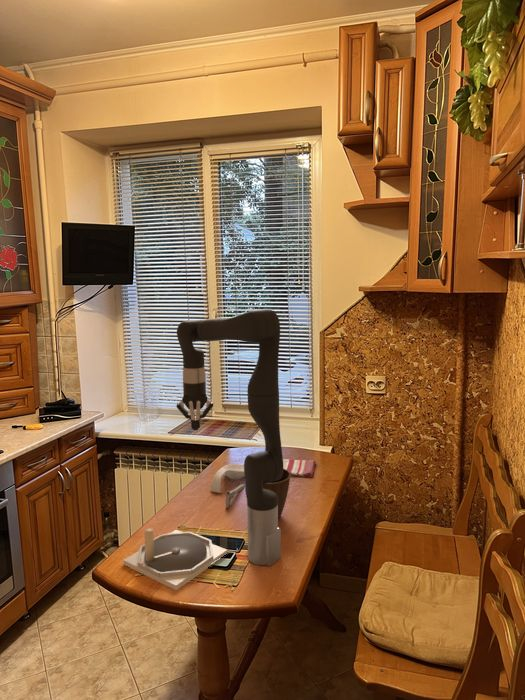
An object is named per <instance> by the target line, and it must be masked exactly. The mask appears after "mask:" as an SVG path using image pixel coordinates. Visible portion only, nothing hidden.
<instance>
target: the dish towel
mask: <svg viewBox="0 0 525 700" xmlns="http://www.w3.org/2000/svg"><path fill="white" fill-rule="evenodd" d="M314 465H315V466H316V461H315V459H307V460H306V459H304V460H303V459H302V460H299V459H287V458H286V459H285V458H283V469H286V470H287V471H289V472H290V477H296V476H302V477H301V478H311V477H312V478H313V474H314V471H315V466H314Z"/></svg>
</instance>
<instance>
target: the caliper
mask: <svg viewBox="0 0 525 700" xmlns="http://www.w3.org/2000/svg"><path fill="white" fill-rule="evenodd" d="M243 489H245V484H243V483H241V484H240V485H238V486H237V487H236V488H235V489H233V490H226V493H225V494H226V495H225V508H226V509H229V507H231V503H232V500H233V499H234V498H235V495H237V494H238V493H239V492H240V491H242V490H243Z"/></svg>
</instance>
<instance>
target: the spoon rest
mask: <svg viewBox="0 0 525 700" xmlns="http://www.w3.org/2000/svg"><path fill="white" fill-rule="evenodd" d="M224 475H225V476H226V477H227V478H229V479H230V478H231V479H230V480H235V479H236V480H241V479H242V478H245V476H244V464H242V463H241V464H240V463H230V464H227V465H224V466H222V467H221V468H219V469H218V470H217V471H216V473H215V474H214V477H213V478H212V482H211V484H210V488H209V490H210V491H211V492H212V493H218V494H221V493H222V486H221V484H222V482H221V481H222V479H223V477H224Z"/></svg>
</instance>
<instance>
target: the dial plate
mask: <svg viewBox="0 0 525 700" xmlns="http://www.w3.org/2000/svg"><path fill="white" fill-rule="evenodd" d="M172 536H190V537H194V538H197V539H199V540H201V541H202V542H204V544H205V545H206V548H207V555H206V557H205V559H204V560H203V561H202V562H201V563H199V564H198V565H196V566H195V567H193V568H191V569H187V570H177V571H167V572H161V571H157V570H155V569H153V568H151V567H149V566H148V565H147V564H146V562H145V543H143V544H142V545H140V547H139V550H137V552H134V553H132V554H131V555H129V556H128V557H126V558H124V559H123V560H122V561H123V563H122V564H123V565H124V566H125V565H126V567H127V566H128V568H129V567H130V569H132V570H134V571H136V572H138V573H140V574H141V575H144V576H146V577H148V578H150V579H152V580H154V581H156V582H158V583H160V584H162V585H165V586H166V587H168V588H170V589H172V590H174V591H178V590H180V589H181V588H182V587H183V586H184V585H186V584H188V583H189V582H190V581H192V580H193V579H195V578H196V577H197V576H199V575H200V574H201V573H203V572H204V571H206V570H207V569H209V568H210V567H209V565H210V564H211V563H212V562H214V561H215V560H217V559H219V558H221V557H223V556H224V555H226V554H227V555H228V549H226V548H224V547H221V546H218V545H216V544H214V543H213V542H212V539H210V538H207V537H205V536H202V535H200V534H197V533H195V532H192V531H181V530H178V529H174V530H173V531H171V532H168V533H163V534H159V535H158V536H156V537H154V542H156V541H158V540H161V539H163V538H167V537H172ZM227 555H226V556H227ZM224 557H225V556H224ZM224 557H223V558H224ZM221 559H222V558H221ZM208 567H209V568H208Z"/></svg>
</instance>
